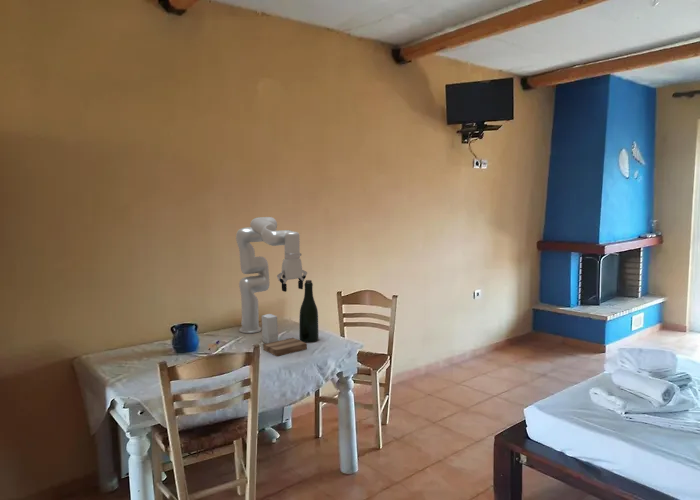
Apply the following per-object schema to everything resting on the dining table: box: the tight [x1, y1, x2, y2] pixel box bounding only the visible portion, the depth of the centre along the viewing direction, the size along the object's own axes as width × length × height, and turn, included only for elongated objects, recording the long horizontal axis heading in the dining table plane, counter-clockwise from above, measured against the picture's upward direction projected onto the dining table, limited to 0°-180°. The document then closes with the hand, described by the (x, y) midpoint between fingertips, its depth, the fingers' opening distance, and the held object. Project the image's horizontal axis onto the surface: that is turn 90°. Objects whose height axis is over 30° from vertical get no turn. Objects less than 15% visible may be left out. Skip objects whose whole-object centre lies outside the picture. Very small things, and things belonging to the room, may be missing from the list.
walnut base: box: [262, 337, 308, 357], centre depth 266 cm, size 13×18×3 cm
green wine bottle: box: [298, 279, 320, 343], centre depth 280 cm, size 10×10×33 cm
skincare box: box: [261, 313, 279, 344], centre depth 276 cm, size 8×6×15 cm
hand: (292, 290), depth 261 cm, fingers open, 9 cm apart
